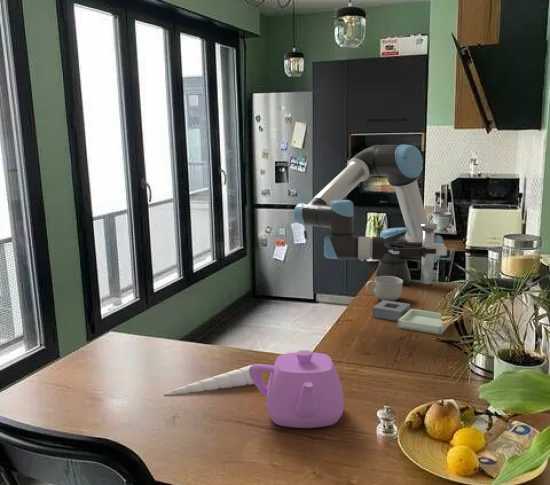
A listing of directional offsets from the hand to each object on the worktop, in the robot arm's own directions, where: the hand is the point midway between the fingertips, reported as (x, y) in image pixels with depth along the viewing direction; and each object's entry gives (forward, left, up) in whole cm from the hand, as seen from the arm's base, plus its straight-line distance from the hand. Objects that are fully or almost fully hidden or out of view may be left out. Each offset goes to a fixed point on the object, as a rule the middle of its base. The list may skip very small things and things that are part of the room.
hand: (445, 249), depth 174 cm
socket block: (-2, -18, -26) cm, 31 cm away
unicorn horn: (+74, -37, -26) cm, 87 cm away
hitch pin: (+2, -5, -11) cm, 12 cm away
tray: (+2, -5, -26) cm, 26 cm away
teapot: (+75, -11, -26) cm, 80 cm away
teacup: (-19, -27, -26) cm, 42 cm away
